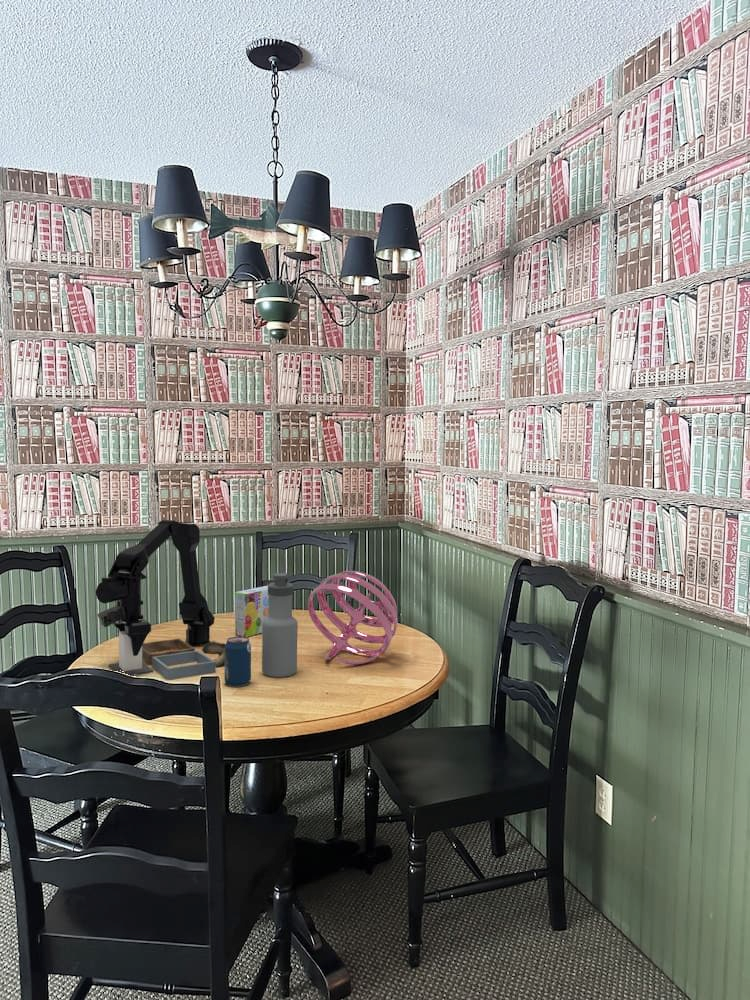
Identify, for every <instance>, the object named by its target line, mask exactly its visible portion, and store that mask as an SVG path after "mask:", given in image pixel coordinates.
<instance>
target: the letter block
mask: <svg viewBox="0 0 750 1000" xmlns="http://www.w3.org/2000/svg"><path fill="white" fill-rule="evenodd" d="M125 633H126V632H125V631H120V632H119V631H118V663H119V667H120V668H121V669H122V670H123V671H128V670H135V669H141V668H142V662H143V660H142V647H141V649H140V651H139V653H138V655H137V656H133V652H132V646H131V640H130V637H129V636H128V635H126V634H125Z"/></svg>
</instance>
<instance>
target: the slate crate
mask: <svg viewBox="0 0 750 1000" xmlns="http://www.w3.org/2000/svg"><path fill="white" fill-rule="evenodd" d="M195 661H197V662H195ZM182 663H183V664H186V665H181V664H182ZM188 663H193V664H188ZM175 665H179V666H175ZM170 666H174V667H170ZM152 667H153V668H154V669H153V670H155V671H156V672H157V673H158V672H159V673H158V674H160V675H161V676H162V677H163V678H165V680H168V681H169V680H176V679H182V678H183V679H184V678H188V677H189V678H191V677H195V676H201V674H202V675H207V674H208V675H209V674H214V673H216V671H217V667H216V662H215V661H214V659H212V658H211V657H209V656H207V655H206V654H205V653H204V652H202V651H199V649H198V650H195V651H190V652H183V653H176V654H169V655H162V656H155V657H152V665H151V668H152ZM213 672H214V673H213Z"/></svg>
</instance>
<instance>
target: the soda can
mask: <svg viewBox="0 0 750 1000" xmlns="http://www.w3.org/2000/svg"><path fill="white" fill-rule="evenodd" d="M224 644H225V662H224V681H225V683H226V685H227V684H228V685H227V686H229V685H230V686H229V687H233V686H236V688H238V687H237V686H240V687H244V686H247V685H249V683H250V681H251V679H252V644H251V642H250V638H249V637H242V636H231V637H229V638H227V640H226V643H224Z"/></svg>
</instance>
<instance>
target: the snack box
mask: <svg viewBox="0 0 750 1000" xmlns="http://www.w3.org/2000/svg"><path fill="white" fill-rule="evenodd" d="M234 596H235V597H234V598H235V599H234V605H235V607H234V609H235V612H234V614H235V617H234V618H235V620H234V621H235V623H234V624H235V628H234V629H235V636H237V635H240V636H239V637H242V636H243V637H247V638H249V637H248V636H250V637H252V636H251V635H253V636H256V635H255V634H257V635H260V634H259V633H261V634H262V625H263V621H264V619H265V618H267V617H268V610H269V596H268V585H265V586H258V587H253V588H250V589H244V590H239V591H235V592H234Z"/></svg>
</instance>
